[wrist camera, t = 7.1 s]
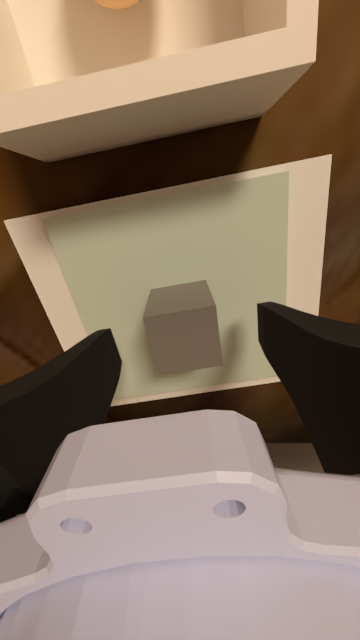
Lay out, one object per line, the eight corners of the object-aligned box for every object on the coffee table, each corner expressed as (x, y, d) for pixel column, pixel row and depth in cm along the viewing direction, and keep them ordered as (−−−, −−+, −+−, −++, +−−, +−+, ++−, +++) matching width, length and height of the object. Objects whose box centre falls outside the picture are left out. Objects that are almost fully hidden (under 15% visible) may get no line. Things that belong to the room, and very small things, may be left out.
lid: (283, 172, 11) (338, 155, 7) (280, 369, 16) (313, 419, 12) (48, 218, 12) (-12, 225, 8) (115, 393, 17) (98, 448, 13)
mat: (326, 155, 11) (331, 154, 11) (310, 372, 17) (312, 376, 16) (8, 220, 12) (3, 220, 12) (92, 405, 18) (91, 409, 17)
